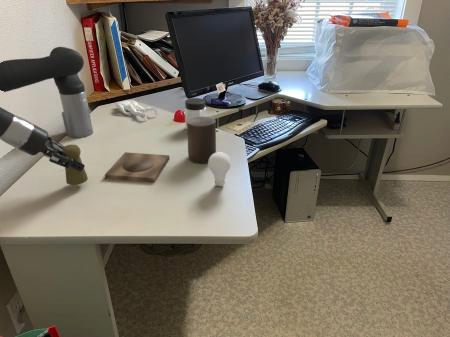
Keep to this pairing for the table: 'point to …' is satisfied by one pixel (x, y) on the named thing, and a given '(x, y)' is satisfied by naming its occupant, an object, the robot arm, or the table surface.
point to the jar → (194, 108)
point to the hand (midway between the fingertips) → (80, 164)
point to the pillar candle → (201, 138)
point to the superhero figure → (134, 108)
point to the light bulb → (219, 167)
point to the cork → (72, 174)
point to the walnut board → (138, 167)
